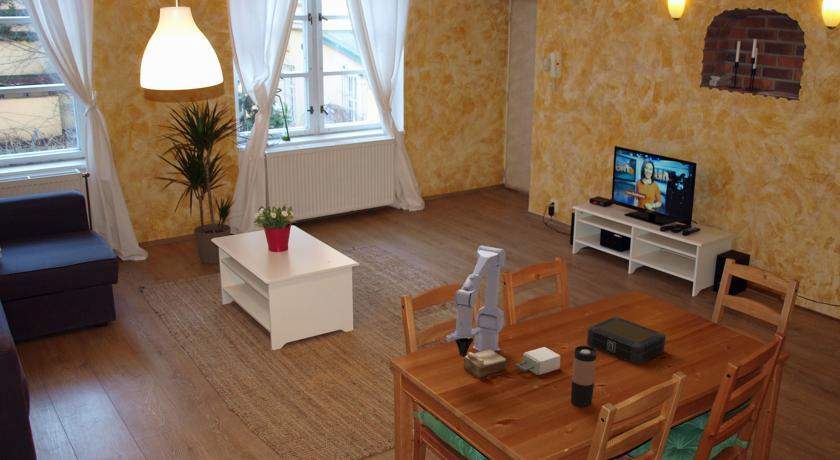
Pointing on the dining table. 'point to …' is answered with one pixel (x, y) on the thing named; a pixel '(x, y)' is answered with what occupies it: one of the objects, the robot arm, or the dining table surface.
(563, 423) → the dining table surface
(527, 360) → the drawer
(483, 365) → the box lid
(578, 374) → the travel mug
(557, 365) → the white cabinet
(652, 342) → the cash box
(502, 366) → the walnut box
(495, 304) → the robot arm
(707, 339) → the dining table surface
